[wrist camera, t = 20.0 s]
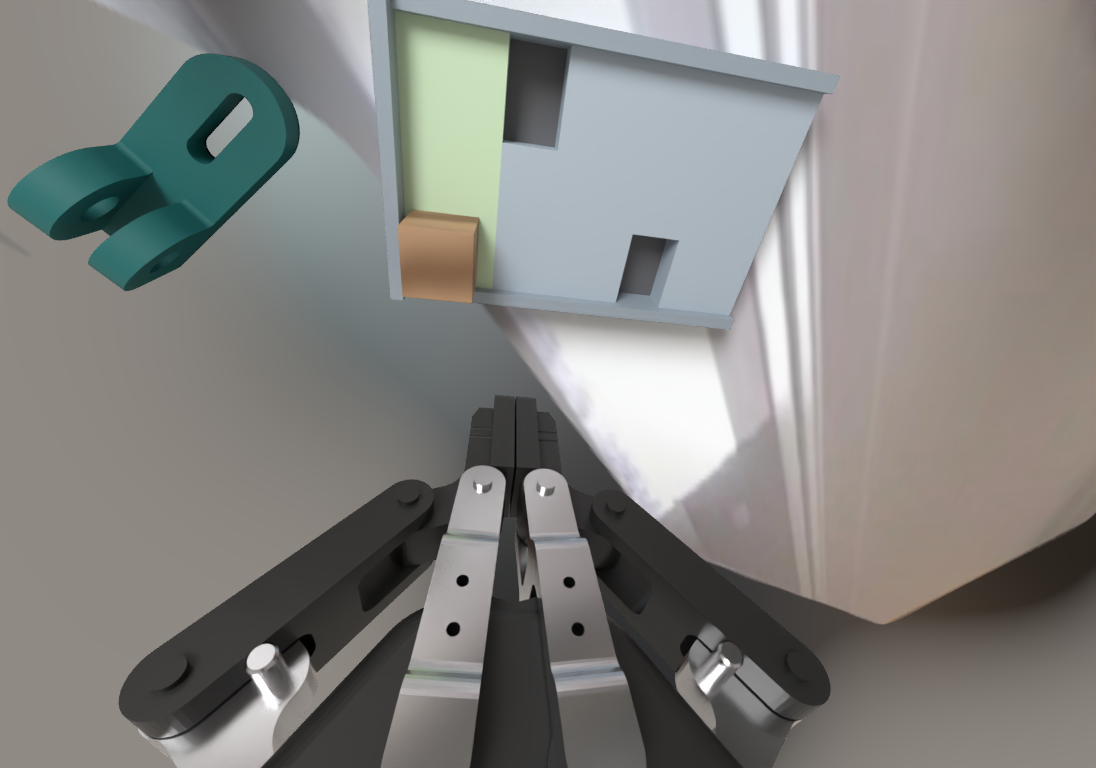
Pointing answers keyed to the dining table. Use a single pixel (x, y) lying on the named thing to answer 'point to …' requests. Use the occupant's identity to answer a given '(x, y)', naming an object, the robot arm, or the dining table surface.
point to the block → (438, 256)
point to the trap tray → (585, 156)
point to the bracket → (166, 172)
